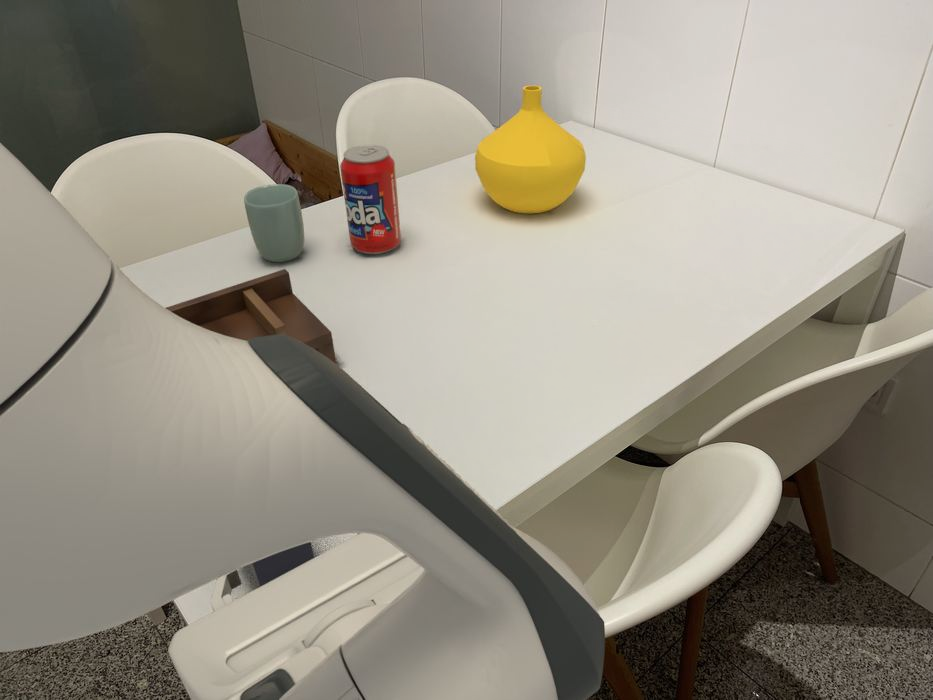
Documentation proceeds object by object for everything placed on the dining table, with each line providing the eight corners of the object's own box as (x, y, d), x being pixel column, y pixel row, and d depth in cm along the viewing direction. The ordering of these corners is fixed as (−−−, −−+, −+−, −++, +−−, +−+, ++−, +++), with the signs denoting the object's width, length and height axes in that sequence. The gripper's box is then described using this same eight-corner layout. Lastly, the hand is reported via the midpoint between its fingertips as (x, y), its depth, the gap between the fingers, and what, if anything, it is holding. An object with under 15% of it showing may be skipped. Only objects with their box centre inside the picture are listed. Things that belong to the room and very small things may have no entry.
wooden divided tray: (150, 442, 74) (127, 383, 69) (122, 384, 82) (99, 328, 77) (337, 365, 84) (327, 310, 79) (295, 321, 92) (285, 268, 87)
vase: (453, 204, 120) (449, 91, 109) (520, 172, 131) (522, 66, 120) (538, 236, 110) (543, 114, 99) (602, 198, 121) (614, 85, 110)
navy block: (261, 592, 59) (227, 486, 51) (240, 552, 62) (204, 447, 55) (315, 562, 61) (290, 457, 54) (292, 526, 65) (265, 421, 57)
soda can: (411, 241, 110) (404, 148, 101) (380, 262, 104) (369, 166, 95) (373, 230, 113) (363, 139, 104) (340, 250, 108) (327, 155, 99)
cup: (255, 248, 109) (241, 188, 103) (305, 240, 111) (295, 180, 105) (258, 272, 103) (244, 209, 97) (311, 263, 105) (300, 201, 99)
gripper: (492, 564, 49) (391, 451, 58) (201, 744, 39) (136, 575, 48) (491, 617, 52) (397, 502, 61) (226, 793, 43) (161, 627, 52)
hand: (280, 535), depth 55 cm, fingers open, 8 cm apart
